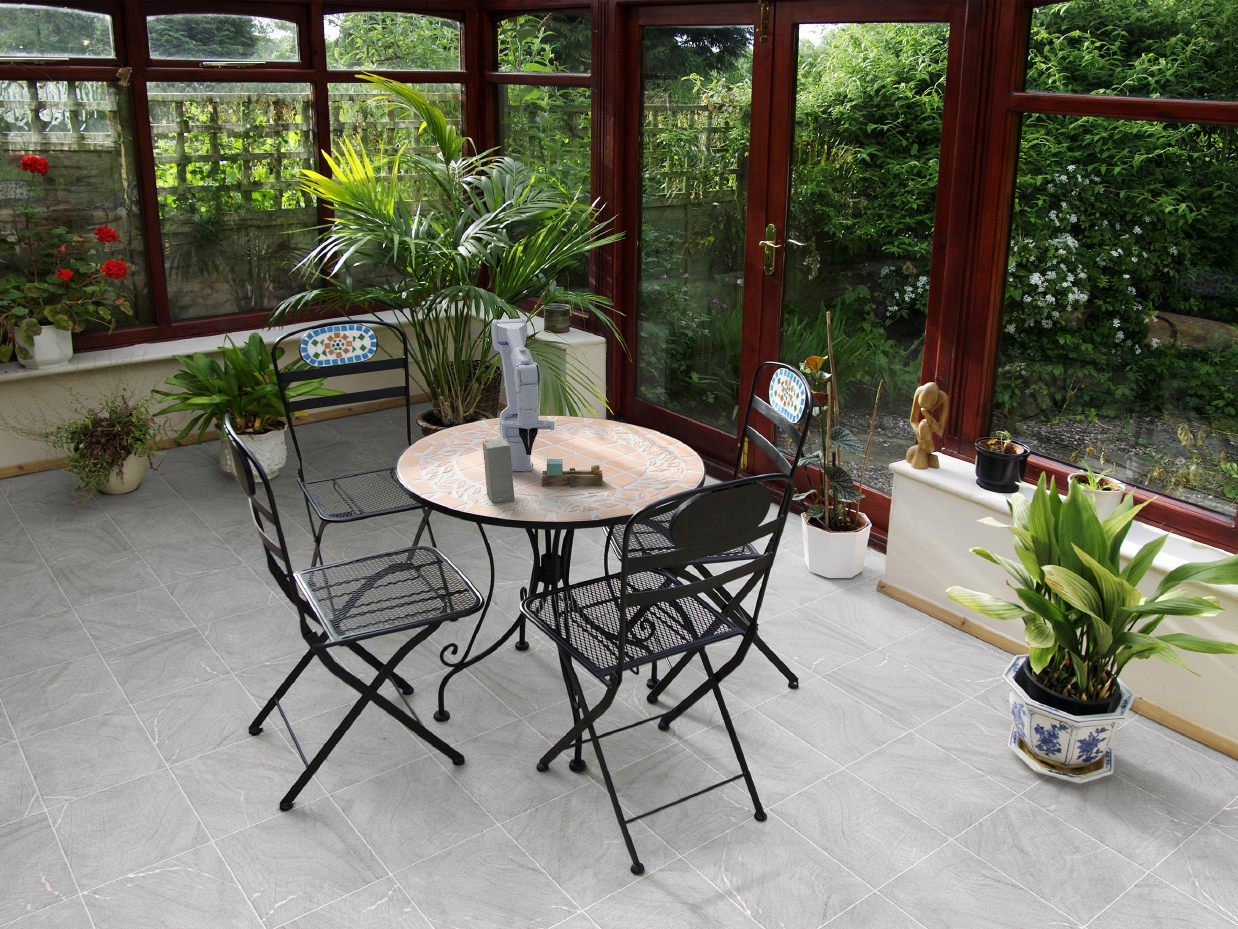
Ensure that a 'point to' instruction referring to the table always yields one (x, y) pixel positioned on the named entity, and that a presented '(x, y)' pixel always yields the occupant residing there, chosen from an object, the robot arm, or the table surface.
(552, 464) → the block
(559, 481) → the wooden slide track
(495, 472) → the skincare box
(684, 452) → the table surface
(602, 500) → the table surface
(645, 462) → the table surface
